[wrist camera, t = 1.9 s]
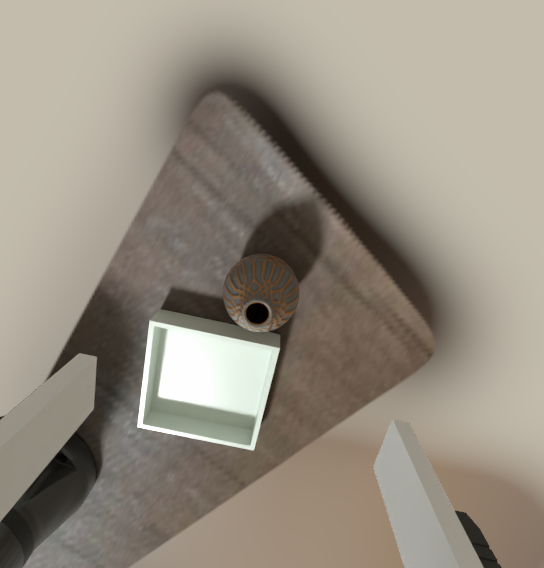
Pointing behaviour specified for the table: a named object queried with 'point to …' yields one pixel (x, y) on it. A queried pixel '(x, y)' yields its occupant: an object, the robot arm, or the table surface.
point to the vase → (261, 292)
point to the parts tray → (206, 379)
